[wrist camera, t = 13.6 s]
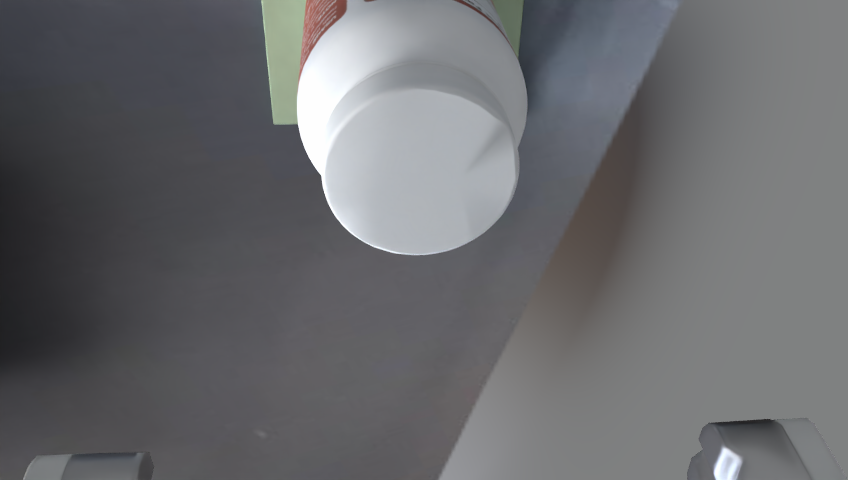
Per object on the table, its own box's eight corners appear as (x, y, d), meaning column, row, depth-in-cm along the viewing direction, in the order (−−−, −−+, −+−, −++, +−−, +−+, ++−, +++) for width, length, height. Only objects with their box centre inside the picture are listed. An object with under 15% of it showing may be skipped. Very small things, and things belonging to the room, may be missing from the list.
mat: (249, -140, 25) (247, -137, 24) (535, -137, 26) (537, -134, 25) (274, 120, 30) (273, 124, 30) (510, 116, 31) (512, 121, 31)
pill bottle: (365, 118, 30) (373, 316, 21) (270, -25, 27) (230, 140, 18) (515, 38, 29) (591, 215, 20) (434, -124, 25) (482, 2, 16)
